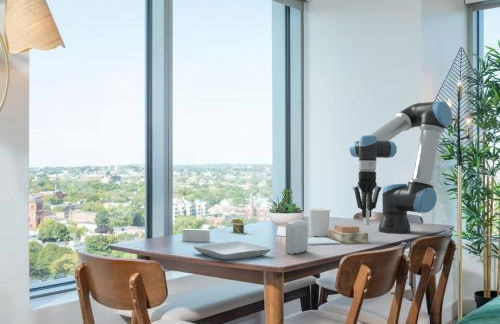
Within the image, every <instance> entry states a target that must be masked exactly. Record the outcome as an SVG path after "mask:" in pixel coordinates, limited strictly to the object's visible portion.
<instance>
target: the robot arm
mask: <svg viewBox="0 0 500 324" xmlns="http://www.w3.org/2000/svg"><path fill="white" fill-rule="evenodd" d="M452 119H453V113H452V109H451V106H449V103H447V102H446V101H440V100H439V101H438V100H435V101H427V102H418V103H415V104H411V105H409V106H408V107H406V108H404V109H402V110H401V111H400V112H398V113H397V114H395V116H394V118H392V120H390V121H388V122H387V123H385V124H384V125H382V126H380V128H378V129H376V130H375V131H374V132H372V133H370V134H368V135H365V134H364V135H361V136H359V139H358V140H355V141H353V142H352V143H351V144H350V145H349V153H350V155H351V156H352V157H353V158H358V170H359V171H358V182H357V184H356V185H355V186H352V190H353V191H354V195H355V199H356V204H357V208H358V209H360V210H361V217H362V218H363V222H362V223H363V226H370V218H372V211H373V210H375V209H376V208H377V203H378V199H379V195H380V192H381V191H382V193H381V194H382V216H381V219H380V222H379V224H378V231H379V232H381V233H389V234H407V233H408V234H409V233H411V230H412V229H411V224H410V222H409V218H408V212H412V213H418V214H420V213H421V214H422V213H424V214H425V213H429V212H431V211H432V210H433V209H434V208H435V206H436V203H437V200H438V196H437V192H436V189H435V190H434V185H433V183H432V179H433V173H434V167H435V163H436V158H437V153H438V146H439V141H440V138H441V137H440V136H441V134H442V133H444V132H445V129H446V128H445V127H446V126H449V125H450V124H451V123H452V121H453V120H452ZM413 128H419V129H420V137H419V138H420V139H419V142H418V143H419V144H418V148H417V154H416V158H415V162H414V168H413V173H412V179H409V181H408V182H407V183H396V184H395V183H394V184H386V185H384V186H382V187H383V188H382V187H381V186H379V185H378V183H377V171H376V170H377V159H378V158H380V159H383V158H385V159H389V158H393V157H395V156H396V154H397V151H398V150H397V145H396V143H395V142H393V141H391V140H392V139H393V138H395V137H396V136H398V135H399V134H401V133H402V132H404V131H406V132H407V131H409V130H411V129H413ZM360 191H361V193H360Z"/></svg>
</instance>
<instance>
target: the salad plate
mask: <svg viewBox="0 0 500 324" xmlns="http://www.w3.org/2000/svg"><path fill="white" fill-rule="evenodd" d="M193 249H194V250H195V251H197V252H198V253H200V254H202V255H205V256H207V257H208V256H209V257H211V258H216V259H220V260H224V261H230V260H231V261H234V260H241V259H248V258H257V256H258V257H260V256H264V255H266V254H268V253H270V252H271V250H272V248H270V247H266V246H263V245H258V244H255V243H250V242H244V241H239V240H236V241H229V242H226V241H225V242H218V243H209V244H201V245H194V246H193Z"/></svg>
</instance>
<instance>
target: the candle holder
mask: <svg viewBox="0 0 500 324" xmlns="http://www.w3.org/2000/svg"><path fill="white" fill-rule="evenodd" d="M330 211H331V210H330V209H329V208H309V209H308V223H309V225H308V228H309V236H310V235H311V236H310V237H314V236H317V237H316V238H319V237H324V236H326V237H328V231H329V230H330V214H331V212H330Z"/></svg>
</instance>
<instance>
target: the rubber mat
mask: <svg viewBox="0 0 500 324" xmlns="http://www.w3.org/2000/svg"><path fill="white" fill-rule="evenodd" d="M308 244H309V245H308V246H319V245H320V246H323V245H324V244H325V245H326V244H327V245H341V243H340V242H337V241H334V240H332V239H329V238H328V237H327V236H326V237H308ZM325 245H324V246H325Z"/></svg>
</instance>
